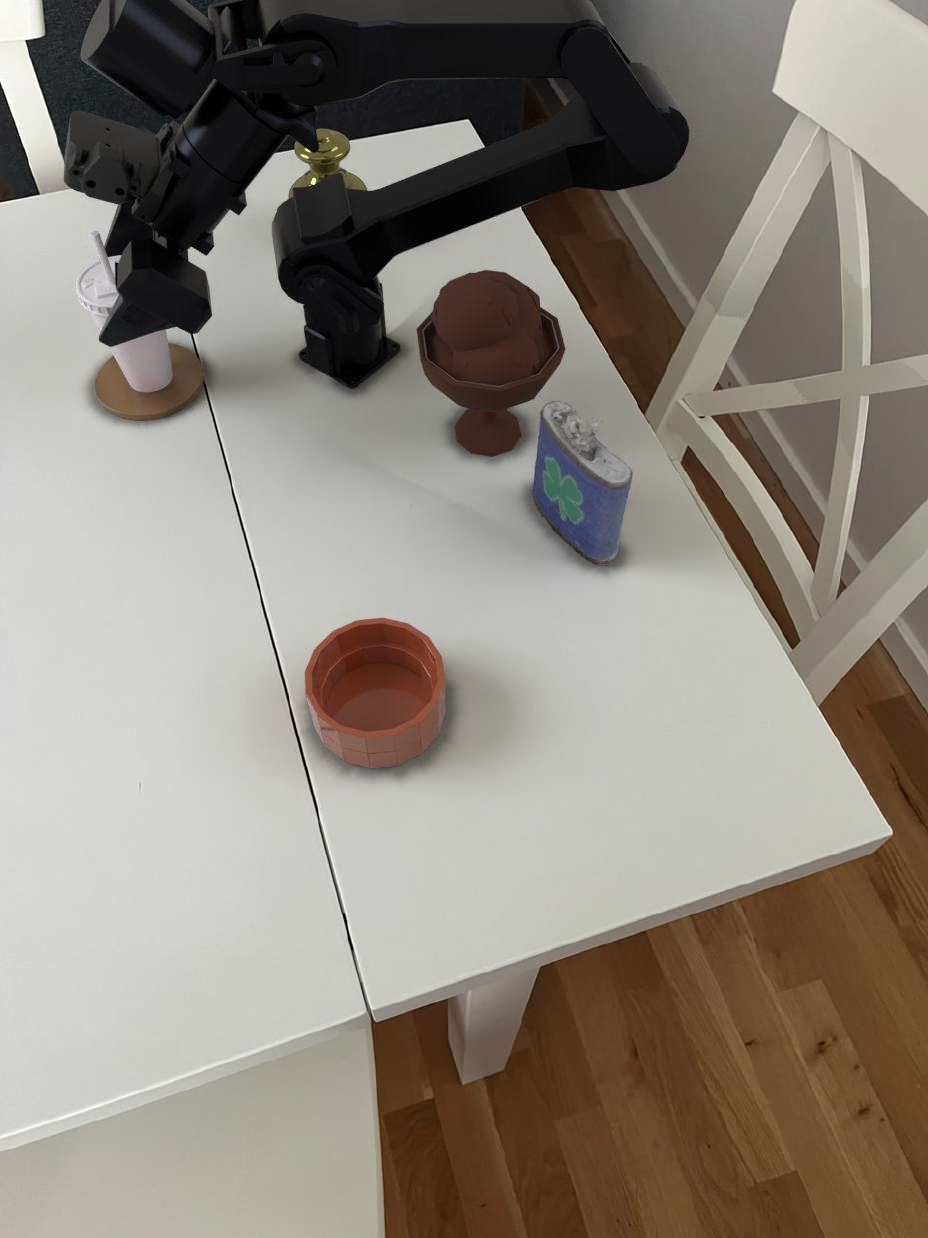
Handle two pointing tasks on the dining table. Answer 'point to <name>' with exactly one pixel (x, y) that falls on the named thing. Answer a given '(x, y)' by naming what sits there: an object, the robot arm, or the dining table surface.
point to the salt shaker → (326, 161)
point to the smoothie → (136, 358)
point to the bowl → (376, 692)
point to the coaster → (156, 404)
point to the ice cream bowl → (489, 354)
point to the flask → (579, 484)
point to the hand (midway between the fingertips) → (104, 304)
